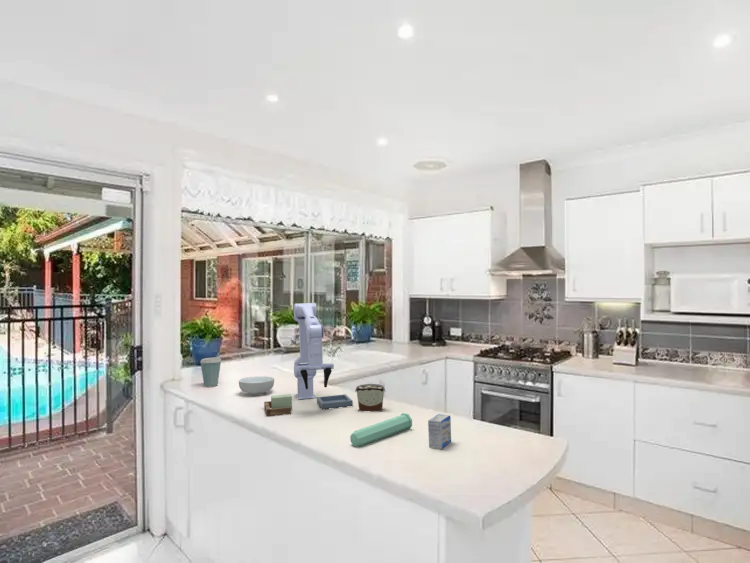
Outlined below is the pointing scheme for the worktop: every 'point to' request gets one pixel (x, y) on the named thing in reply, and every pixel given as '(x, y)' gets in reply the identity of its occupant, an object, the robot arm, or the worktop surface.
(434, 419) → the medicine box
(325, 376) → the robot arm
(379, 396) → the food container
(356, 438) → the container
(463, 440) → the worktop surface
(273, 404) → the tall sage green block
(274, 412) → the holder
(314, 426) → the worktop surface
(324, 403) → the tray
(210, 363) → the disposable coffee cup
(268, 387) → the cereal bowl
